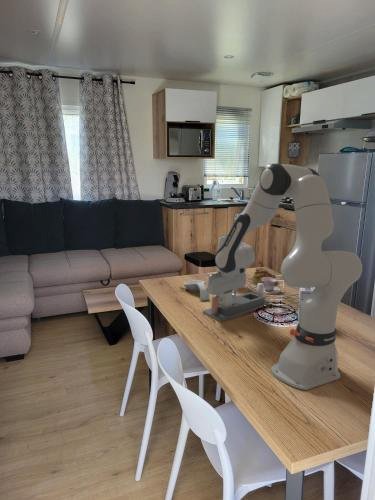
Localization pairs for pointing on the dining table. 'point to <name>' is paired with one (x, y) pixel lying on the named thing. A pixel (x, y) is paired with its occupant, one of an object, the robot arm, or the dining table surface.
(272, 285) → the teacup
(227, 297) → the white cylinder
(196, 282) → the handheld barcode scanner
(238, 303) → the socket board
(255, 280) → the pastry
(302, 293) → the syrup box
